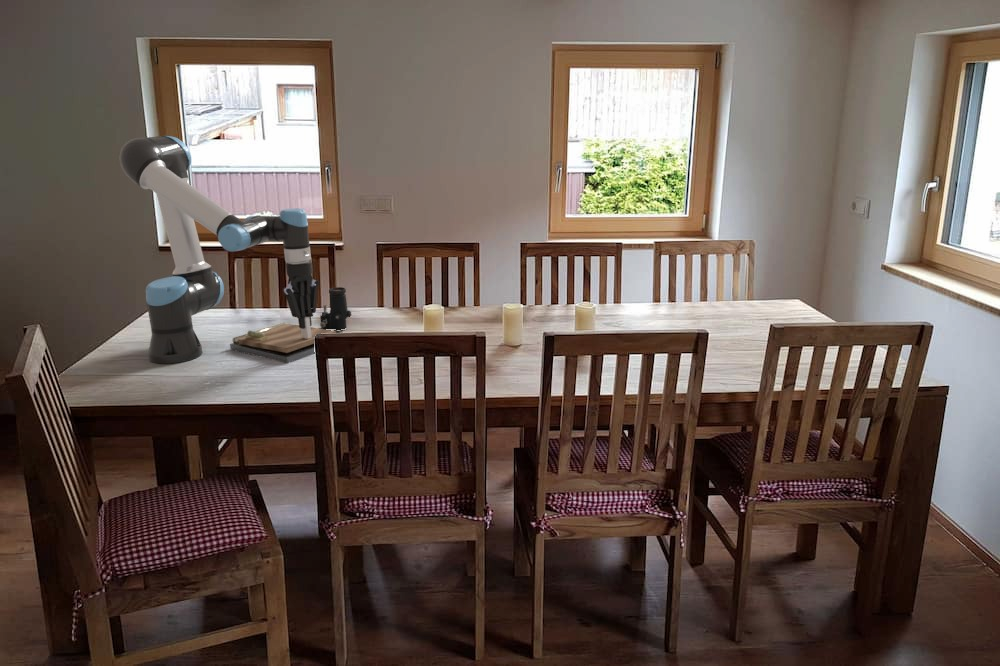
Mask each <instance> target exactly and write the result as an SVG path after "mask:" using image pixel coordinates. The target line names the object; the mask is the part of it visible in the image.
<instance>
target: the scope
mask: <svg viewBox="0 0 1000 666" xmlns="http://www.w3.org/2000/svg"><path fill="white" fill-rule="evenodd" d="M346 292H347V289H346V288H345V287H341V286H340V287H338V286H336V287H330V288H329V289H328V293H329V294H330V295H329V307H330V309H329V312H328V309H327V308H328V307H327V305H326V304H323V306H322V307H323V311H322V312H321V315H320V323H319V326H320V329H325V330H326V329H336V330H341V329H345V328H347V318H351V316H352V311H351V310H349V309H348V303H347V295H346ZM347 329H348V328H347Z"/></svg>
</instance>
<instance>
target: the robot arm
mask: <svg viewBox="0 0 1000 666" xmlns="http://www.w3.org/2000/svg"><path fill="white" fill-rule="evenodd" d="M118 159H119V164H120V166H121V167H120V168H121V169H122V171H123V173H124V174H125V175H126V177H128V178H129V179H130V180H131V182H133V183H134V184H136V185H138V186H139V187H140V188H142V189H143V190H150V191H152V192H154V193H156V197H157V201H158V205H159V209H160V212H161V217H162V220H163V223H164V227H165V231H166V234H167V238H168V239H167V240H168V242H169V245H170V246H169V247H170V250H171V253H172V254H171V255H172V258H173V262H174V265H175V267H174V269H173V271H172V274H171V275H172V276H165V277H164V278H162V277H161V278H158V279H156V280H154V281H151V282H150V283H148V284H147V286H146V287H145V302H146V305H147V311H148V318H149V324H150V330H151V338H150V343H149V349H148V359H149V361H150V362H152V363H155V364H176V363H177V364H178V363H183V362H188V361H191V360H194V359H197V358H199V357H200V356H201V355H202V354H203V346H202V344H201V342H200V340H199V338H198V335H197V334H196V332H195V330H194V326H193V320H192V318H193V317H192V316H195V315H197V314H199V313H202V312H204V311H208V310H211V309H212V308H214V307H215V306H217V305H218V304H219V303H220V302H221V301H222V299H223V298H224V293H225V286H224V282H223V280H222V278H221V277H220V275H218V274H217V272H215V271H213V270H212V269H213V268H212V265H211V264H209V263H208V262H206V260H205V258H204V253H203V249H202V246H201V243H200V239H199V235H198V231H197V227H196V222H197V223H198V224H200V225H201V226H202V227H204V228H205V229H207V230H208V231H210V232H211V233H213V235H216V236H217V239H218V242H219V244H220V246H221V247H222V248H223V249H224V250H225V251H227V252H239V251H244V250H246V249H249V248H251V247H254V246H259V245H260V244H264V243H270V242H274V243H275V242H279V243H280V242H281V243H283V253H284V261H285V262H286V263H285V269H286V270H285V271H286V275H287V277H288V281H287V284H288V285H286V287H283V288H282V289H281V291H282V293H283V294H284V295H285V299H286V301H287V304H288V307H289V311H290V314H291V316H292V317H293V318H297V319H298V320H297V321H298V325H299V328H301V335H302V338H306V339H309V338H312V336H311V327H312V318H313V317H314V314H315V313H316V312H317V304H318V303H317V301H318V300H317V299H318V289H319V286H320V281H319V280H316V279H314V277H313V275H312V274H313V263H312V261H311V259H312V255H311V244H310V237H309V223H308V217H307V212H306V210H304V209H303V208H285V209H282V210H280V212H279V215H275V216H274V215H252V216H247V217H246V218H245V219H244V220H242V219H240V218H239V217H237V216H236V215H234V214H233V213H231V212H230V211H229V210H227V209H226V208H224V207H222V206H221V205H219V204H218V203H217V202H215V201H214V200H212V199H211V198H210V197H208V196H207V195H205V194H204V193H202V192H201V191H200V190H198V189H197V188H196V187H194V186H193V185H191V184H189V182H188V180H189V173H188V171H189V170H190V167H191V165H192V155H191V152H190V149H189V147H188V146H187V145H186V144H185V143H184V141H182V140H181V139H179V138H178V137H175V136H171V135H158V136H149V137H148V136H147V137H137V138H133V139H132V138H131V139H129V141H127V142H126V143H125V144H124V145H122V148H121V149H120V153H119V158H118Z"/></svg>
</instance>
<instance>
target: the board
mask: <svg viewBox="0 0 1000 666" xmlns="http://www.w3.org/2000/svg"><path fill="white" fill-rule="evenodd" d="M285 324H286V325H282V326H279V327H276V328H273V329H270V330H266V331H263V332H255V331H256V330H248V331H247V334H248V335H247V336H246V337H244V338H241V339H238V341H239V344H242V345H248V346H253V347H258V348H264V349H269V350H274V351H280V352H285V353H288V352H291V351H294V350H297V349H300V348H303V347H306V346H308V345H311V344H314V337H315V335H316V334H321V333H336V334H337V331H331V330H325V329H321V328H318V327H312V326H310V327H311V336H312V338H309V339H306V338H302V335H301V328H299V324H298V325H297V324H291V323H285Z"/></svg>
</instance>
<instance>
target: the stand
mask: <svg viewBox="0 0 1000 666" xmlns="http://www.w3.org/2000/svg"><path fill="white" fill-rule="evenodd" d="M286 324H287V323H285V322H281V323H278V324H274V325H271V326H268V327H265V328H262V329H258V330H254V331H255V332H263V331H266V330H270V329H273V328H276V327H279V326H282V325H286ZM247 335H248V333H245V334H242V335H239V336H235V337H233V338H232V343H230V344H229V346H230V348H229V349H230V350H231V349H232V350H231V351H235V350H237V351H236V352H239V351H241V352H240V353H244V352H245V354H248V353H249V355H252V354H254V356H256V355H257V357H260V356H261V357H260V358H264V357H265V359H268V358H269V359H268V360H272V359H273V361H277V362H281V363H286V364H289V362H290V363H292V362H294V361H295V362H296V361H298V360H300V359H304V358H306V357H308V356H311V355H314V354H316V353H314V344H311V345H308V346H306V347H303V348H300V349H297V350H294V351H291V352H288V353H285V352H280V351H274V350H269V349H264V348H258V347H253V346H248V345H242V344H239V341H238V339H241V338H244V337H246V336H247Z"/></svg>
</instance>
